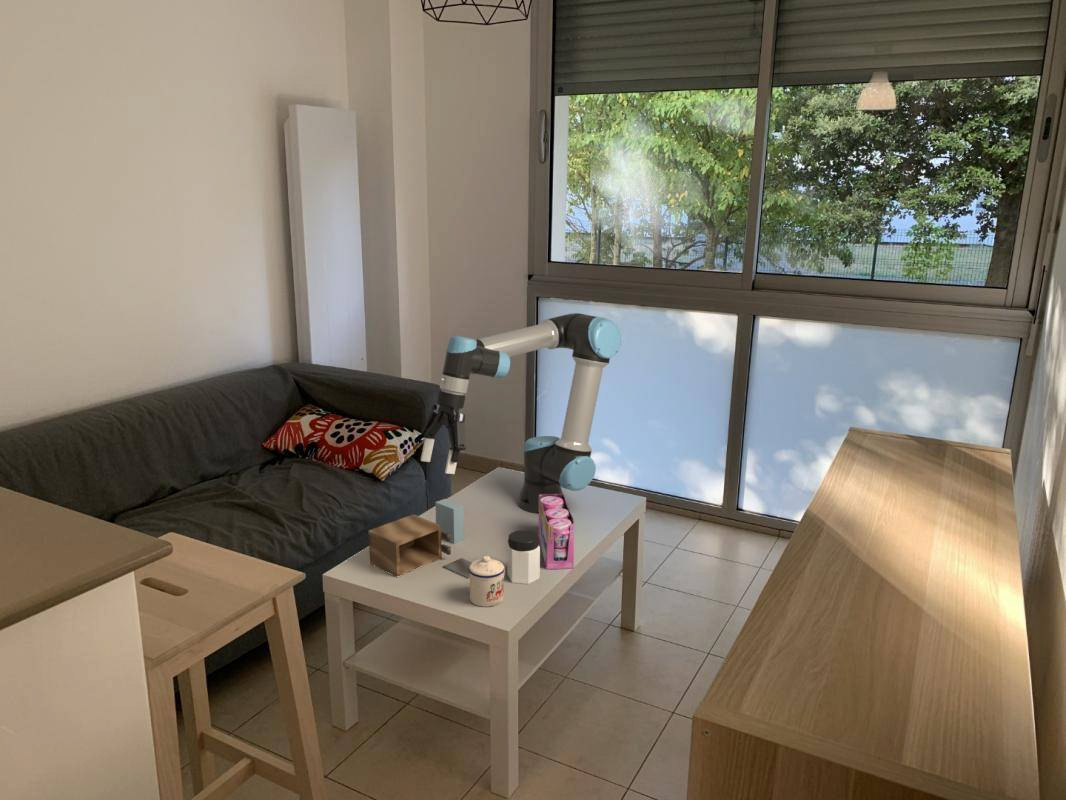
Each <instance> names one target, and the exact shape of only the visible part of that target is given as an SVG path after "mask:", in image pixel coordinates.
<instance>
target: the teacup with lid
mask: <svg viewBox="0 0 1066 800" xmlns="http://www.w3.org/2000/svg"><path fill="white" fill-rule="evenodd" d="M469 572H470V578H469V601H471V603H472V604H474V605H476V606H479V607H484V608H488V607H489V606H490V607H493V606H497V605H500V604H501V603H502V602H503V600H504V598H505V597H504V596H505V595H504V590H505V589H504V578H505V573H506V568H505V565H504V564H503V563H502V562H501V561H499V560H497V559H493V558H491V556H488V555H484V556H483V557H482V558H481V559H477V560H474V561H473V562H472V564H471V565H470V566H469Z"/></svg>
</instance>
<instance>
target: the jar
mask: <svg viewBox="0 0 1066 800" xmlns="http://www.w3.org/2000/svg"><path fill="white" fill-rule="evenodd" d="M507 540H508V541H507V545H506V546H507V547H506V548H507V549H506V551H507V554H506V556H507V557H506V558H507V561H506V565H507V566H506V570H507V573H506V575H507V577H508V578H509V580H510V581H511V583H512V584H513V583H514V584H522V585H530V584H532V583H534V582H536V581H537V580H540V578H541V577H540V576H541V575H540V574H541V572H540V570H541V567H540V566H541V545H540V541H539V533H538V532H535V531H532V530H525V529H523V530H515V531H513V532H511V533H510V534H508V539H507Z"/></svg>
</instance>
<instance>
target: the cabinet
mask: <svg viewBox="0 0 1066 800" xmlns="http://www.w3.org/2000/svg"><path fill="white" fill-rule="evenodd" d="M442 540H444V541H446V542H449V541H451V538H450V533H447V532H444V531H442V532H441V525H438V524H436V522H433V521H431V520H429V519H425V518H424V517H422V516H419V515H417V514H414V513H412V514H411V515H408V516H405V517H402V518H399V519H397V520H394V521H392V522H388V523H385V524H383V525H380V526H378V527H375V528H372V529H369V530H368V548H369V565H371V564H372V565H371V566H373V565H375V566H376V568H377V567H378V569H379V568H380V570H381V569H382V570H381V571H383V570H384V571H383V572H385V571H387V572H389V573H391V574H393V575H395V576H400V575H402V574H404V573H406V574H408V573H407V572H409V571H411V570H413V569H416V568H418V567H420V566H423V565H425V566H427V565H429V564H428V563H430V564H431V562H432V563H434V562H436V561H435V560H437V561H439V560H442V555H443V553H444V554H446V555H448V556H449V555H451V554H452V551H451V550H452V548H451V546H450V545H449V546H448V545H447V544H442ZM449 543H450V542H449ZM438 559H439V560H438ZM433 561H434V562H433ZM472 563H473V562H472V561H470V560H468V559H465V558H463V557H461V558H458V559H456V560H454V561H451V562H449V563H447V564H444V565H443V566H442V568H444V567H445V568H444V569H446V568H447V569H446V570H448V569H449V570H448V571H450V570H451V571H450V572H452V571H454V572H456V573H455V574H457V575H459V574H460V575H459V576H461V575H462V576H461V577H463V576H464V577H463V578H465V577H466V578H465V579H468V578H469V579H470V572H469V566H470V565H471V564H472ZM426 564H427V565H426ZM375 566H374V567H375ZM423 567H424V566H423ZM420 568H421V567H420ZM418 569H419V568H418ZM416 570H417V569H416ZM413 571H414V570H413ZM387 572H386V573H387ZM411 572H412V571H411ZM454 572H453V573H454ZM389 573H388V574H389ZM409 573H410V572H409ZM391 574H390V575H391ZM393 575H392V576H393ZM404 575H405V574H404ZM395 576H394V577H395ZM402 576H403V575H402ZM400 577H401V576H400Z"/></svg>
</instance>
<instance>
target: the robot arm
mask: <svg viewBox="0 0 1066 800" xmlns="http://www.w3.org/2000/svg"><path fill="white" fill-rule="evenodd" d="M621 344H622V334H621V329H619V327H618V325H617V323H615V322H614V321H612V320H610V319H607V318H604V317H601V316H595V315H590V314H584V313H577V312H575V313H568V314H563V315H558V316H554V317H551V318H546V319H544V320H543V319H542V321H541V322H540V323H539V324H535V325H531V326H526V327H523V328H519V329H515V330H510V331H506V332H502V333H498V334H493V335H489V336H486V337H482V338H477V339H473V338H471V337H464V336H460V335H451V337H450V338H449V340H448V344H447V348H446V353H445V359H444V364H443V368H442V375H441V378H440V384H439V388H440V389H439V391H438V393H437V397H436V404H432V408H431V411H430V413H429V415H428V417H427V419H426V421H425V423H424V425H423V427H422V429H421V432H420V433H421V434H422V435H423V437H424V441H423V445H422V452H421V455H420V461H421V462H427V463H430V462H431V458H432V454H433V448H434V445H435V444H434V443H435V438H436V437H435V435H436V434H437V433H438V432H439V431H440V429H441V428H442V427H443V426H445V428H446V429H447V431H448V436H449V442H450V448H449V449H448V455H447V459H446V463H445V464H446V465H445V468H444V469H445V470H444V473H445V474H451V475H455V473H456V469H457V464H458V461H459V455H460V452H461V451H465V450H466V430H465V427H466V426H465V420H466V414H464V413H460V410H462V409H463V408H464V405H465V401H466V395H465V394H467V392H468V389H469V388H468V387H469V382H470V377H471V374H473V375H474V374H475V375H480V376H485V377H491V378H493V379H494V378H496V379H498V378H499V379H501V378H504V377H505V376H507V375H508V374H509V372H510V367H511V357H515V356H518V355H523V354H526V353H530V352H534V351H535V352H536V351H538V350H542V349H546V348H547V350H555V349H569V350H572V355H571V358H572V359H573V361H574V363H575V365H574V369H573V370H574V371H573V375H572V379H571V380H572V381H571V386H570V391H569V395H568V401H567V405H566V406H567V407H566V412H565V417H564V422H563V427H562V432H561V437H558V436H555V435H542V436H533V437H531V438H528V439H527V440H526V441H525V443H524V449H523V454H524V456H523V457H524V458H523V459H524V464H523V466H524V468H523V469H524V470H523V471H524V473H523V475H524V476H523V477H524V480H523V485H522V488H521V491H520V493H519V497H518V506H519V508H521V510H523V511H526V510H527V511H526V512H529V511H530V513H534V512H539V495H543V494H564V493H563V489H565V490H569V491H572V492H579V491H581V490H583V489H585V488H586V487H587V486H589V485H590V483H591V482H592V480H593V479H594V477H595V474H596V463H595V461H594V460H593V458H591V455H592V451H593V450H592V447H591V445H589V441H590V435H591V431H592V425H593V421H594V417H595V411H596V405H597V399H598V395H599V390H600V384H601V379H602V376H603V370H604V368H605V367H607V366H608V365H609V364H610V360H611V358H613V357H615V356H616V353H618V352H619V351H620V348H621Z"/></svg>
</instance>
